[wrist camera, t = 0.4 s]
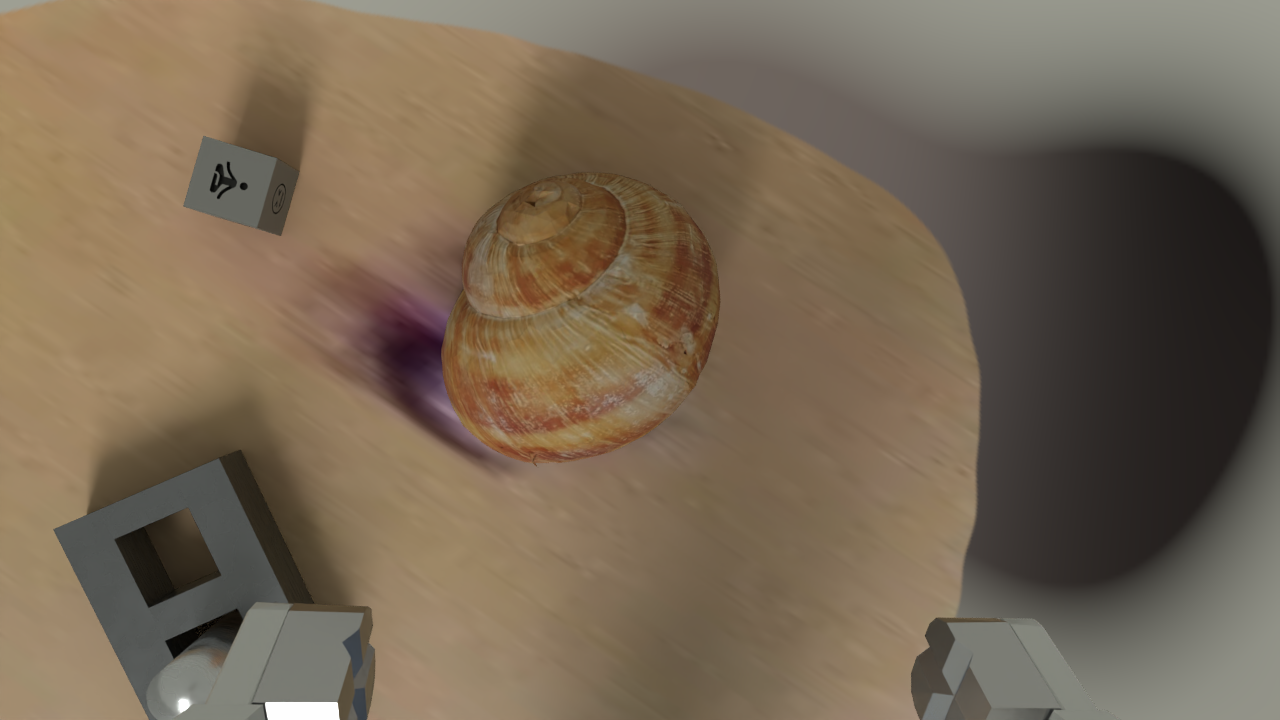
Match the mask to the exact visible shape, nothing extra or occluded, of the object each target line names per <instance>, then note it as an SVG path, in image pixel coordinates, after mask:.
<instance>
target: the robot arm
mask: <svg viewBox="0 0 1280 720" xmlns="http://www.w3.org/2000/svg"><path fill="white" fill-rule="evenodd" d="M372 628H373V621H372V612H371V608H370V607H368V606H346V605H324V604H302V603H294V604H288V603H265V602H256V603H255V604H254V605H253V606H252V607H251V608H250V609H249V610H248V612H247V614H246V616H245V618H244V620H243V622H242V624H241V627H240V629H239V631H238V633H237V635H236V637H235V640H234V642H233V644H232V646H231V648H230V650H229V653H228V655H227V657H226V659H225V661H224V663H223V666H222V668H221V670H220V672H219V674H218V676H217V679H216V681H215V683H214V685H213V687H212V689H211V692H210V694H209V696H208V698H207V700H206V702H205V704H192V705H191V706H190V707H188V708H187V709H186V710H185V711H183V712H182V713H181V714H179V715H178V716H177V717H175V718H174V719H173V720H367V718H368V714H369V710H370V705H371V701H372V695H373V688H374V681H375V649H374V648H373V647H372V646H371V645H370V644H369V639H370V635H371V632H372ZM925 637H926V639H927V641H928V643H929V646H930V647H929V648H928V649H926V650H925V651H924V652H922V653H921V654H920V655H918V656H917V657H916V660H915V663H914V666H913V669H912V672H911V693H912V697H913V701H914V706H915V709H916V711H917V714H918V716H919V718H920V720H1120V719H1119V718H1117V717H1116V716H1115V715H1113V714H1112V713H1110V712H1109V711H1102V710H1098V709H1097V708H1096V706H1095V705H1094V703H1093V702H1092V700H1091V699H1090V697H1089V696H1088V694H1087V693H1086V691H1085V690H1084V688H1083V687H1082V685H1081V684H1080V682H1079V681H1078V680H1077V678H1076V676H1075V675H1074V673H1073V672H1072V670H1071V669H1070V667H1069V666H1068V664H1067V663H1066V661H1065V659H1064V658H1063V656H1062V655H1061V653H1060V652H1059V650H1058V649H1057V647H1056V646H1055V644H1054V643H1053V641H1052V640H1051V638H1050V637H1049V635H1048V634H1047V632H1046V631H1045V630H1044V628H1043V626H1042V625H1041V624H1040V623H1038V622H1037V621H1036V620H1034V619H1011V618H1002V619H997V618H936V619H934V620H933V621H932V622H931V623H930V624H929V627H928V629H927V632H926V634H925Z"/></svg>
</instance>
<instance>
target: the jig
mask: <svg viewBox="0 0 1280 720" xmlns="http://www.w3.org/2000/svg"><path fill="white" fill-rule="evenodd" d="M187 507H188V508H189V510H190V512H191V514H192V516H193V518H194V520H195V522H196V524H197V526H198V528H199V530H200V532H201V534H202V536H203V538H204V540H205V542H206V545H207V547H208V549H209V551H210V553H211V555H212V557H213V559H214V561H215V563H216V565H217V567H218V569H219V570H218V571H216V572H214V573H212V574H209V575H207V576H205V577H203V578H200V579H198V580H196V581H194V582H191V583H189V584H187V585H184V586H182V587H180V588H178V589H175V590H174V588H173V585H172V583H171V581H170V579H169V577H168V575H167V573H166V571H165V569H164V567H163V565H162V563H161V561H160V559H159V557H158V555H157V553H156V551H155V549H154V547H153V545H152V543H151V541H150V539H149V537H148V535H147V533H146V531H145V529H144V526H146V525H148V524H150V523H153V522H155V521H157V520H160V519H162V518H164V517H167V516H169V515H171V514H174V513H176V512H178V511H180V510H183V509H185V508H187ZM53 530H54V532H55V534H56V536H57V538H58V540H59V542H60V544H61V546H62V548H63V550H64V552H65V554H66V556H67V558H68V560H69V562H70V564H71V566H72V568H73V570H74V572H75V574H76V576H77V578H78V579H79V581H80V583H81V585H82V587H83V589H84V591H85V593H86V595H87V597H88V599H89V601H90V603H91V605H92V607H93V609H94V611H95V613H96V615H97V617H98V619H99V621H100V623H101V625H102V627H103V629H104V631H105V633H106V635H107V637H108V639H109V641H110V643H111V645H112V647H113V649H114V651H115V653H116V655H117V657H118V659H119V661H120V663H121V665H122V667H123V669H124V671H125V673H126V675H127V677H128V679H129V681H130V683H131V685H132V687H133V689H134V691H135V693H136V695H137V697H138V699H139V700H140V702H141V704H142V706H143V708H144V710H145V712H146V714H147V716H148V718H149V720H173V719H174V718H175V717H177V716H178V715H179V714H181V713H182V712H183V711H185V710H186V709H187V708H188V707H190V706H191V705H192V704H205V702H206V700H207V698H208V696H209V694H210V692H211V689H212V687H213V685H214V683H215V681H216V679H217V676H218V674H219V672H220V670H221V668H222V666H223V663H224V661H225V659H226V657H227V655H228V653H229V650H230V648H231V646H232V644H233V642H234V640H235V637H236V635H237V633H238V631H239V629H240V627H241V624H242V622H243V620H244V618H245V616H246V614H247V612H248V610H249V609H250V608H251V607H252V606H253V605H254V604H255V603H256V602H265V603H288V604H294V603H302V604H314V602H313V600H312V598H311V596H310V594H309V592H308V590H307V588H306V586H305V584H304V581H303V579H302V577H301V575H300V573H299V571H298V569H297V567H296V565H295V563H294V561H293V558H292V556H291V554H290V552H289V550H288V548H287V546H286V544H285V542H284V540H283V538H282V536H281V533H280V531H279V529H278V527H277V525H276V523H275V521H274V519H273V517H272V515H271V513H270V510H269V508H268V506H267V504H266V502H265V500H264V498H263V496H262V494H261V492H260V490H259V488H258V485H257V483H256V481H255V479H254V477H253V475H252V473H251V471H250V469H249V467H248V465H247V463H246V460H245V458H244V456H243V454H242V452H241V450H238V451H236V452H233V453H231V454H228V455H226V456H223V457H221V458H218V459H216V460H214V461H211V462H209V463H207V464H204V465H202V466H200V467H197V468H195V469H193V470H190V471H188V472H186V473H183V474H181V475H179V476H176V477H174V478H172V479H169V480H167V481H165V482H162V483H160V484H158V485H155V486H153V487H151V488H148V489H146V490H144V491H141V492H139V493H137V494H135V495H132V496H130V497H128V498H125V499H123V500H121V501H118V502H116V503H114V504H111V505H109V506H107V507H104V508H102V509H100V510H97V511H95V512H93V513H90V514H88V515H86V516H83V517H81V518H79V519H76V520H74V521H72V522H69V523H67V524H65V525H62V526H60V527H58V528H55V529H53ZM237 608H238V610H239V611H235V612H231V611H233V610H235V609H237ZM228 612H231V613H228ZM226 613H228V614H226ZM224 614H226V615H224ZM222 615H224V616H223V617H222V618H220V619H219V620H218V621H217V622H216V623H215V624H214V625H213V626H211V627H210V628H209V629H208V630H207V631H206V632H205V633H203V634H202V635H201V636H200V637H199V638H198V636H197V634H196V632H195V630H194V628H195V627H197V626H199V625H201V624H204V623H206V622H208V621H210V620H213V619H215V618H217V617H219V616H222Z"/></svg>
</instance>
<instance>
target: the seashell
mask: <svg viewBox="0 0 1280 720" xmlns="http://www.w3.org/2000/svg"><path fill="white" fill-rule="evenodd" d="M462 281H463V286H464V289H463V291H462V293H461V295H460V296H459V298H458V300H457V301H456V303H455V305H454V307H453V310H452V312H451V314H450V316H449V318H448V321H447V326H446V330H445V335H444V340H443V345H442V354H441V357H442V368H443V378H444V382H445V386H446V390H447V394H448V396H449V399H450V401H451V404H452V406H453V408H454V410H455V412H456V414H457V415H458V417H459V419H460V421H461V423H462V424H463V426H464V427H465V428H467V429H468V430H469V431H470V432H471V433H472V435H474V436H475V437H477V438H478V439H479V440H480V441H481V442H482V443H484V444H485V445H487V446H489V447H490V448H492V449H493V450H495V451H497V452H499V453H502V454H504V455H506V456H508V457H511V458H514V459H517V460H520V461H523V462H529V463H533V464H534V465H535V466H537V465H536V464H535V463H549V462H557V463H562V462H568V461H575V460H580V459H585V458H589V457H593V456H597V455H601V454H605V453H608V452H611V451H614V450H617V449H619V448H621V447H623V446H625V445H627V444H629V443H631V442H632V441H634V440H636V439H638V438H640V437H642V436H644V435H646V434H647V433H648V432H650V431H651V430H653V429H654V428H656V427H657V426H658V425H659V424H660V423H662V422H663V421H664V420H665V419H666V418H668V417H669V416H670V415H671V414H672V413H673V412H674V411H675V410H676V409H677V408H678V407H679V405H680V404H681V403H682V402H683V401H684V400H685V398H686V397H687V395H688V394H689V393H690V391H691V390H692V389H693V388H694V387H695V386H696V383H697V380H698V377H699V375H700V373H701V371H702V369H703V368H704V366H705V364H706V362H707V359H708V355H709V352H710V349H711V345H712V342H713V338H714V335H715V331H716V328H717V324H718V317H719V308H720V291H719V281H718V273H717V264H716V261H715V258H714V256H713V253H712V251H711V249H710V247H709V244H708V242H707V240H706V238H705V237H704V235H703V233H702V232H701V230H700V229H699V228H698V226H697V225H696V224H695V222H694V221H693V220H692V219H691V217H690V216H689V215H688V213H687V212H686V210H685V209H684V208H683V207H682V205H680V204H679V203H678V202H676V201H675V200H673V199H672V198H671V197H669V196H667V195H665V194H663V193H661V192H659V191H658V190H656V189H655V188H653V187H651V186H649V185H647V184H645V183H642V182H640V181H637V180H634V179H630V178H627V177H624V176H620V175H616V174H608V173H594V172H585V173H576V174H568V175H561V176H554V177H550V178H546V179H542V180H539V181H537V182H535V183H532V184H530V185H528V186H526V187H524V188H522V189H520V190H517V191H515V192H513V193H511V194H509V195H508V196H506V197H505V198H504V199H502V200H501V201H500V202H498V203H497V204H496V205H494V206H493V207H492V208H490V209H489V210H488V211H487V212H486V213H485V214H484V215H483V216H482V217H481V218H480V219H479V220H478V221H477V223H476V225H475V226H474V228H473V230H472V232H471V234H470V236H469V238H468V240H467V243H466V247H465V250H464V255H463V261H462Z"/></svg>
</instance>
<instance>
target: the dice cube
mask: <svg viewBox="0 0 1280 720" xmlns="http://www.w3.org/2000/svg"><path fill="white" fill-rule="evenodd" d="M298 175H299V171H297V170H295V169H294V168H292V167H290V166H289V165H287V164H286V163H284V162H282V161H281V160H279V159H277V158H274V157H271V156H268V155H264V154H261V153H258V152H255V151H251V150H248V149H245V148H241V147H238V146H235V145H232V144H228V143H225V142H222V141H219V140H215V139H212V138H209V137H205V136H203V139H202V143H201V146H200V150H199V153H198V157H197V160H196V164H195V167H194V171H193V174H192V178H191V181H190V185H189V188H188V192H187V195H186V199H185V202H184V207H187V208H190V209H193V210H196V211H199V212H202V213H205V214H208V215H212V216H215V217H218V218H221V219H225V220H228V221H232V222H235V223H238V224H242V225H245V226H249V227H252V228H255V229H259V230H262V231H266V232H269V233H272V234H276V235H279V236H281V234H282V231H283V227H284V224H285V220H286V217H287V213H288V210H289V206H290V203H291V199H292V196H293V192H294V189H295V186H296V182H297V179H298Z"/></svg>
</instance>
